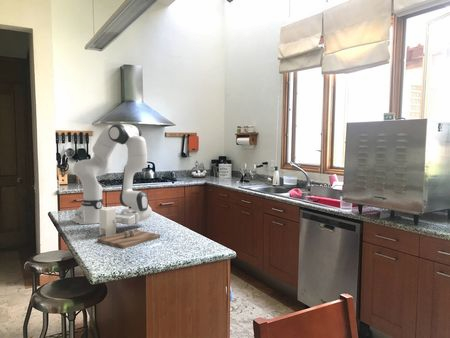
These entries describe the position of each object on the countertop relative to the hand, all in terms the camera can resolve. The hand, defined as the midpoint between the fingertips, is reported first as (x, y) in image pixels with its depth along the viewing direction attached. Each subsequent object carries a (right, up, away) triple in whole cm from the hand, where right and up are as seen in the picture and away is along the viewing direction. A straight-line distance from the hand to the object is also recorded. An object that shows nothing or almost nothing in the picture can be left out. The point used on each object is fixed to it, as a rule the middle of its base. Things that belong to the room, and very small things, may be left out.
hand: (107, 220), depth 198 cm
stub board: (+14, -8, -9) cm, 19 cm away
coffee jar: (+3, -4, +46) cm, 47 cm away
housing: (0, -7, +1) cm, 8 cm away
